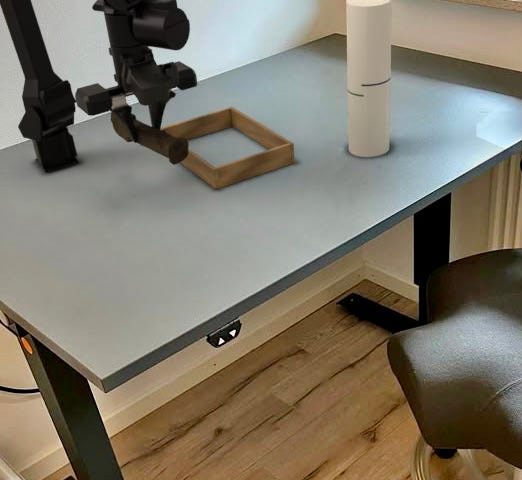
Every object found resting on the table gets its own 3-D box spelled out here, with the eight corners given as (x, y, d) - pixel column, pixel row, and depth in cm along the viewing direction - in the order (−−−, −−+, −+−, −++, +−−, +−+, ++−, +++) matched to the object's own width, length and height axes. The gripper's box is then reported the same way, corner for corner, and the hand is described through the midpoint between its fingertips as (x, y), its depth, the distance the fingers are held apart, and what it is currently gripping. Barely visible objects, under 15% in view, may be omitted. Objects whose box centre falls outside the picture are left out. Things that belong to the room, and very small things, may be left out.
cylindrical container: (387, 157, 137) (390, 5, 122) (346, 156, 139) (343, 7, 124) (390, 140, 143) (393, -8, 127) (351, 139, 144) (348, -6, 129)
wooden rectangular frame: (215, 189, 133) (213, 169, 131) (160, 147, 149) (157, 128, 147) (295, 162, 139) (294, 143, 137) (233, 124, 155) (231, 106, 152)
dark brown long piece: (192, 158, 126) (187, 131, 123) (171, 167, 125) (166, 140, 122) (128, 127, 138) (123, 101, 135) (109, 135, 136) (103, 109, 134)
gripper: (90, 70, 112) (111, 172, 121) (207, 40, 118) (218, 139, 128) (63, 51, 119) (86, 148, 129) (174, 23, 126) (188, 118, 136)
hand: (146, 139), depth 130 cm, fingers closed on dark brown long piece, 3 cm apart
